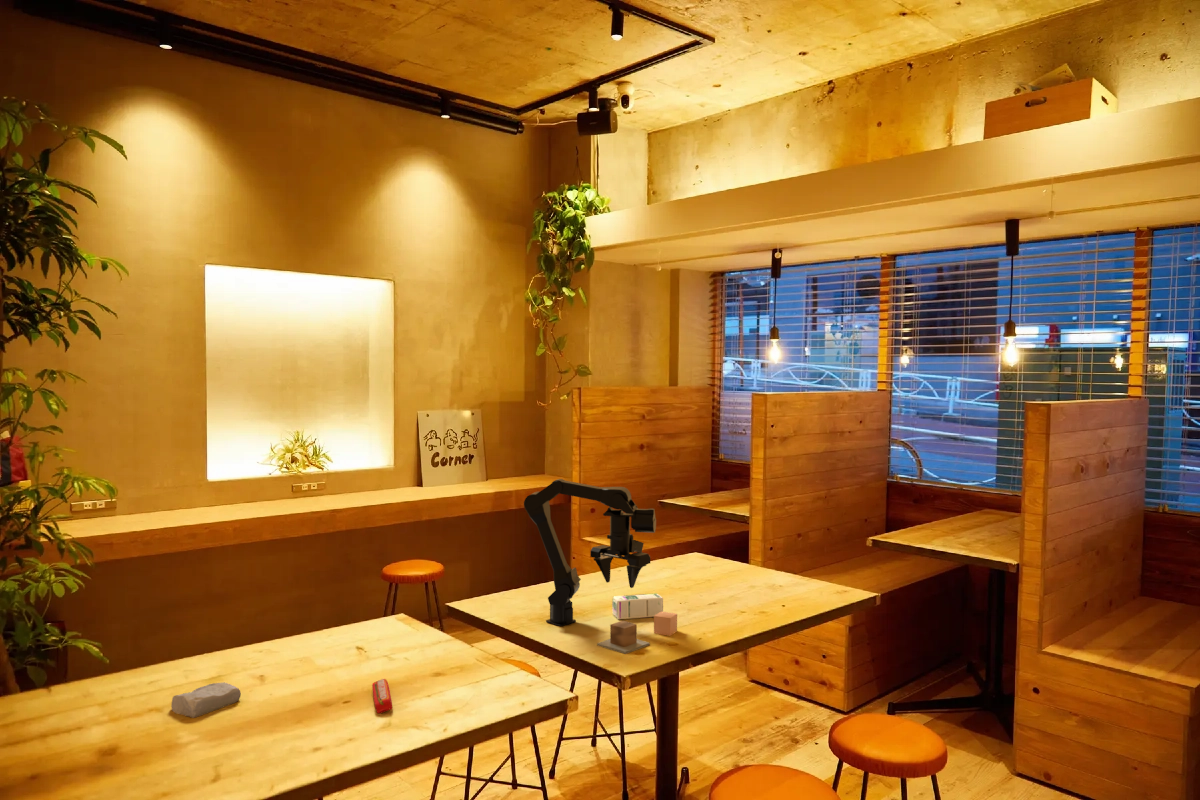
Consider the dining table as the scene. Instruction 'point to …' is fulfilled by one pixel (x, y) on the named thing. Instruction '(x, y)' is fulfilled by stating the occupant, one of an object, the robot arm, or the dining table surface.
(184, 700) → the stone block
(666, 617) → the terracotta cube
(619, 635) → the walnut cube
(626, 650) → the coaster
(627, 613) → the syrup box
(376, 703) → the candy bar
